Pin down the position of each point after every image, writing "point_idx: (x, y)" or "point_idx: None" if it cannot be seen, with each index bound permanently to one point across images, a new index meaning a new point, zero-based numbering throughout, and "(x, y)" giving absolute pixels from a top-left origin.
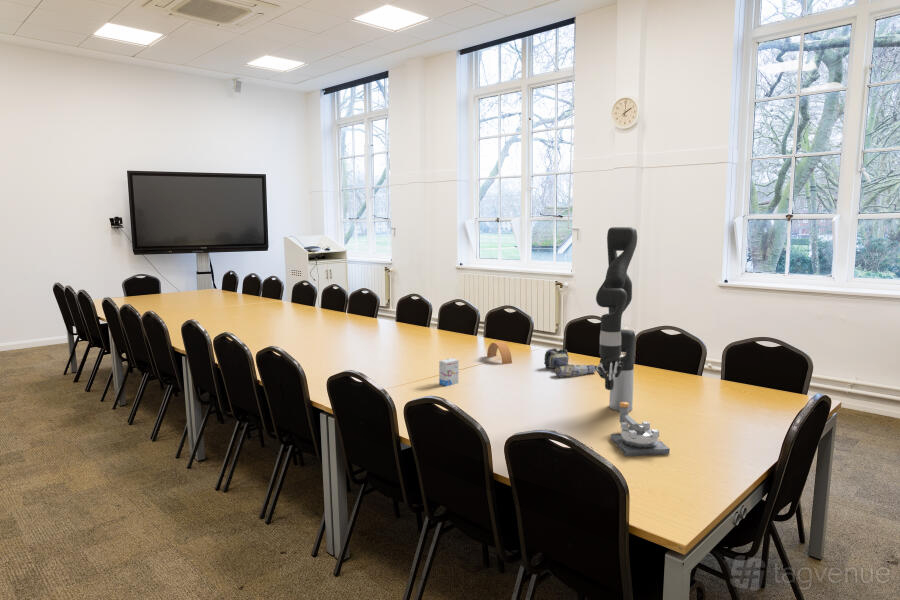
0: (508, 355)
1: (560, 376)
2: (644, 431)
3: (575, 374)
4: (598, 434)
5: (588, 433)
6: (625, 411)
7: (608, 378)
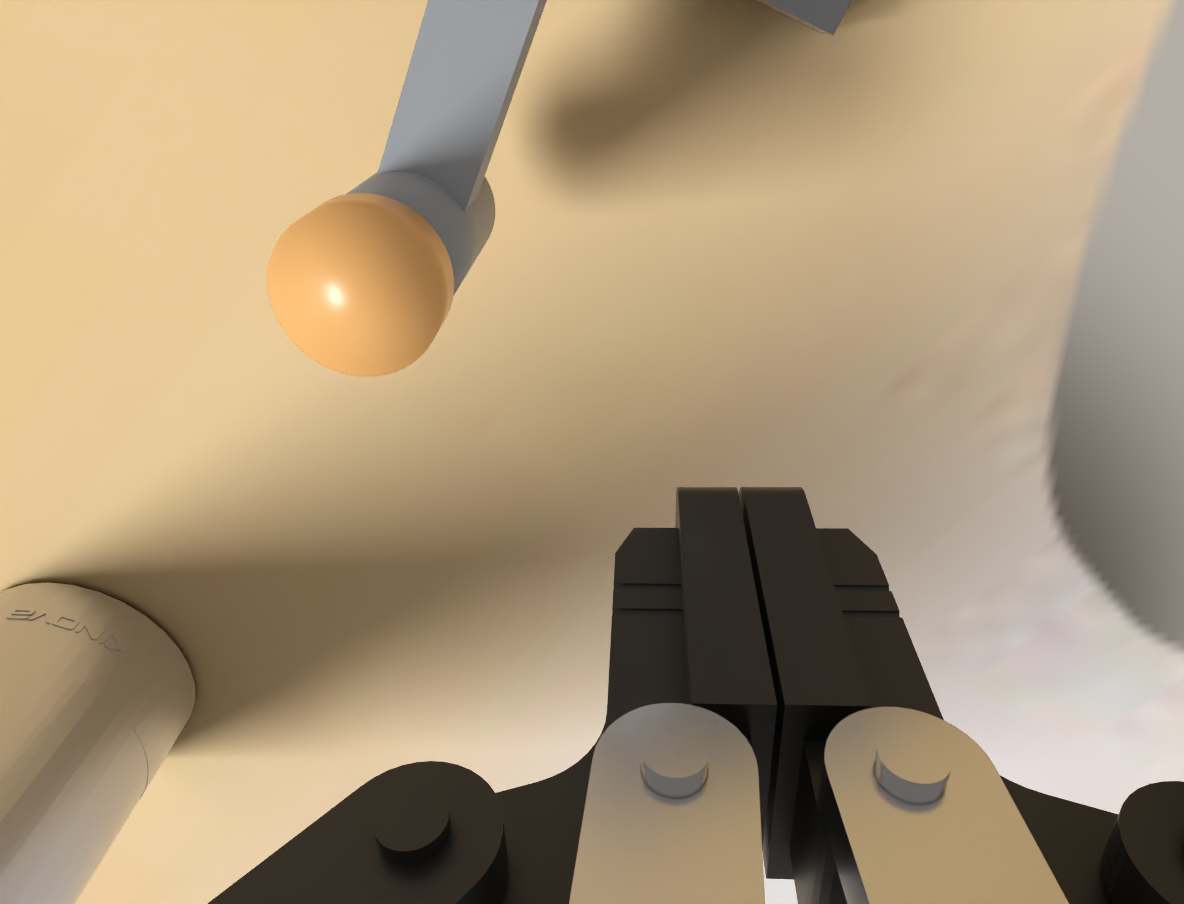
0: None
1: None
2: None
3: None
4: (811, 245)
5: (883, 327)
6: (412, 190)
7: (994, 809)
